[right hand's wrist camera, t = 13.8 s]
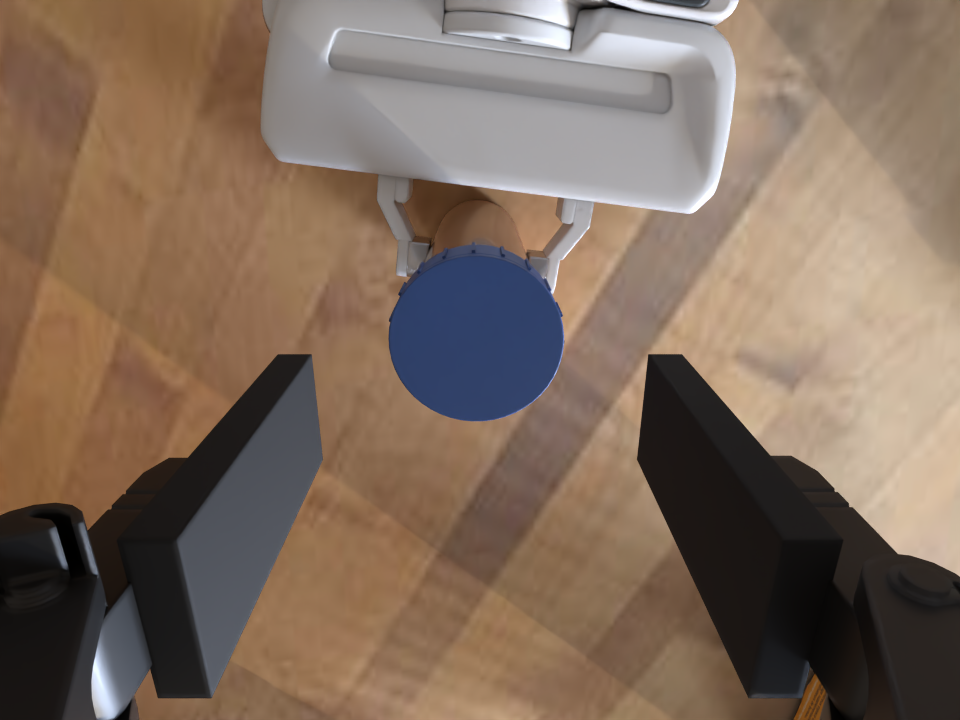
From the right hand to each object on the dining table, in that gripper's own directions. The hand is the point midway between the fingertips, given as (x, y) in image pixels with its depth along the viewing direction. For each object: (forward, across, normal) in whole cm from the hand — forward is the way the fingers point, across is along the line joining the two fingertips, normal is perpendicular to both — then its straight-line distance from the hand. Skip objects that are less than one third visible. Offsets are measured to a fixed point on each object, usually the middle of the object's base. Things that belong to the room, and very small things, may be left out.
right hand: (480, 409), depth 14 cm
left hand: (+17, 0, -1) cm, 17 cm away
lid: (+5, 0, 0) cm, 5 cm away
